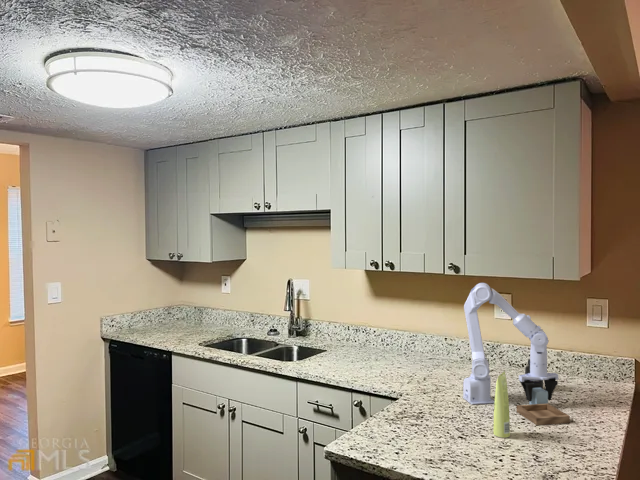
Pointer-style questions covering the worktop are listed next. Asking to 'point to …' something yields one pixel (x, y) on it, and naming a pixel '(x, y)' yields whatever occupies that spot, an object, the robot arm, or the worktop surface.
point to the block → (539, 396)
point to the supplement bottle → (536, 382)
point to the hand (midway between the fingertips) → (538, 399)
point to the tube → (501, 408)
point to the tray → (543, 414)
